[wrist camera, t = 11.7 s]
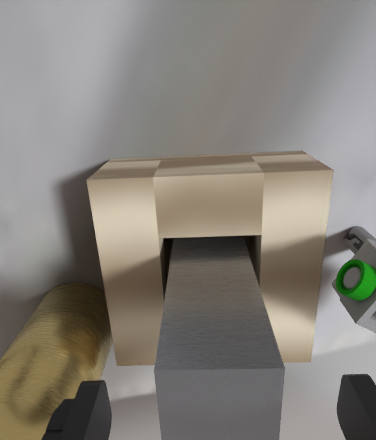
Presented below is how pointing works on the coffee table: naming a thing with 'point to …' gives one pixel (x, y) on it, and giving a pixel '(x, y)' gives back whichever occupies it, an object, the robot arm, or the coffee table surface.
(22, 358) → the round brass bit
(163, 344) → the bar
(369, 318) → the mechanical component
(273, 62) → the coffee table surface
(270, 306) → the socket block
